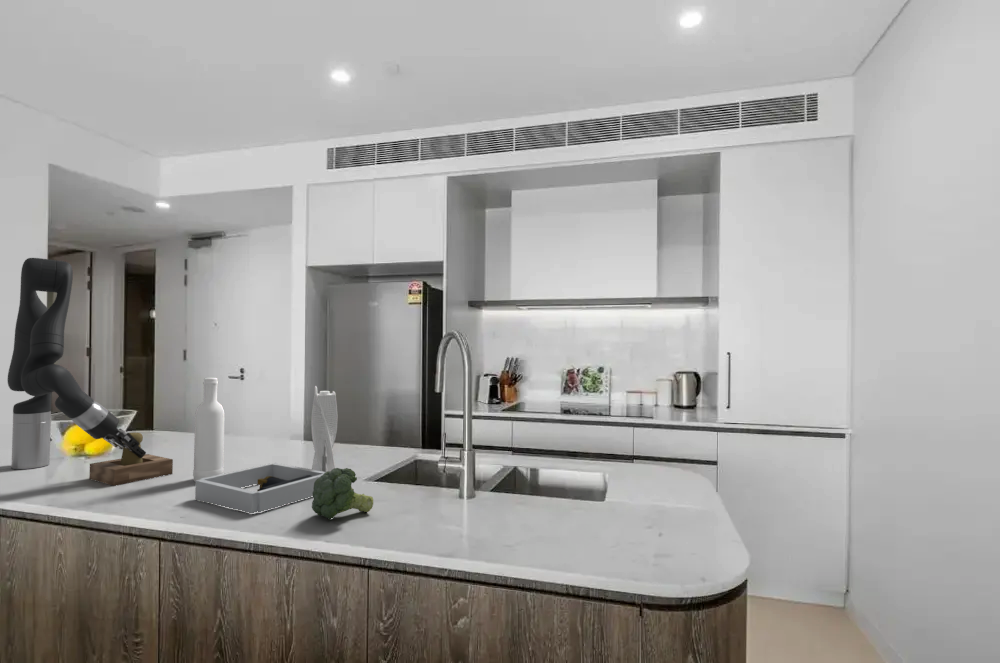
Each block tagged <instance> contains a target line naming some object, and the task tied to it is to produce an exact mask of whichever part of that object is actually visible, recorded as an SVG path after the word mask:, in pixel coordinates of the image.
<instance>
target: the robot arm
mask: <svg viewBox="0 0 1000 663" xmlns="http://www.w3.org/2000/svg"><path fill="white" fill-rule="evenodd" d="M20 271H21V272H20V294H19V295H20V296H19V306H18V311H17V312H18V313H17V316H16V322H15V328H14V338H13V340H14V341H13V342H14V343H13V351H12V356H11V360H10V364H9V368H8V373H7V385H8V387H9V389H10V390H11V391H14V392H25V393H26V394H27V395H29V396H32V397H31V398H29V399H27V400H24V401H21V402H16V403H15V404H13V406H12V438H11V439H12V440H11V463H10V464H11V466H10V467H11V469H13V470H27V469H29V470H30V469H37V468H41V467H42V468H43V467H46V466H49V465H50V461H51V460H50V459H51V458H50V457H51V454H50V452H51V430H52V429H51V426H52V425H51V423H52V419H51V418H52V394H53V392H54V393H56V394H57V395H58V396H57V398H56V399H55V402H54V405H55V408H56V409H57V410H58V411H60V412H61V413H62V414H64V415H65V416H66V417H67V418H69V419H70V420H71V421H72V422H73V423H74V424H75V425H76V426H77V427H78V428H80V429H81V430H83V431H84V432H85V433H87V435H89V436H90V437H92V438H93V439H95V440H101V439H103V440H104V441H106V442H107V443H108V444H110V445H112V446H113V447H114V448H117V449H119V450H122V451H123V447H125V448H126V449H128V450H129V451H131V452H132V453H134V454H135V455H137V456H138V457H139V458H142V457H143V456H144V455H145V454H147V452H146V450H144V449H143V448H142V447H141V448H140V447H139V445H140V444H141V443H140V444H139V442H138V441H137V440H136V439H135V438H134V437H133V436H132V435H131V434H130V433H131V432H127V433H126V431H125V430H123V428H118V425H119V422H120V420H119V418H118V417H117V416H115V415H114V413H112V412H111V411H110V410H108V409H107V408H106V407H104V406H103V405H102V404H101V403H99V402H98V401H96V400H94V398H92V397H91V396H90V395H88V394H87V393H86V392H84V390H83V389H82V388H81V387H80V384H79V382H77V380H76V379H75V378H74V376H73V375H72V373H71V371H69V370H68V368H66V367H64V366H62V365H59V364H55V363H56V362H58V361H59V360H60V359H61V358H62V357H63V356H64V351H65V350H64V349H65V346H64V345H65V327H66V321H67V316H68V311H69V307H70V301H71V300H70V299H71V294H72V287H73V276H74V275H73V273H74V272H73V271H74V270H73V267H72V264H70V262H68V261H63V260H57V259H51V258H50V259H48V258H40V257H28V258H26V259H25V260H24V262H23V264H22V267H21V270H20ZM37 292H47V293H56V295H55V296H56V297H55V299H54V301H53V303H52V304H51V305H50V307H49V308H48V307H47V306H46V304H44V302H43V301H42V300H41V298H40V297H39V296H38V293H37ZM123 443H124V444H123ZM132 444H133V445H132ZM131 445H132V446H131Z"/></svg>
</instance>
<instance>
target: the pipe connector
mask: <svg viewBox="0 0 1000 663" xmlns="http://www.w3.org/2000/svg"><path fill="white" fill-rule="evenodd" d="M309 477H313V476H311V475H306V476H302V477H299V478H295V479H292V480H284V479H279V478H277V477H273V476H267V477H265V478H264V479H263V478H261V479H258V485H257V486H259V488H258V489H256V492H257V491H261V490H265V489H268V488H272V487H276V486H280V485H283V484H287V483H291V482H294V481H298V480H302V479H306V478H309Z"/></svg>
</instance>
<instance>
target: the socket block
mask: <svg viewBox="0 0 1000 663" xmlns="http://www.w3.org/2000/svg"><path fill="white" fill-rule="evenodd" d="M173 459H174V458H168V457H165V456H164V457H163V456H159V455H153V454H149V453H146V454H145V455H144V456H143V457H142V460H143V463H138V464H132V465H127V466H122V465H120V463H121V458H115V459H109V460H104V461H99V462H98V461H97V462H90V463H89V475H88V476H89V480H91V479H92V480H91V481H94V480H96V481H95V482H98V481H99V482H98V483H102V482H103V483H102V484H105V483H106V485H109V486H114V487H116V485H117V486H121V485H126V484H131V483H135V482H140V481H145V479H146V480H150V478H151V479H155V478H154V477H156V478H160V477H159V476H161V477H164V476H163V475H165V476H169V475H168V474H170V475H173V472H174V471H173V467H174V466H173V465H174V461H173Z"/></svg>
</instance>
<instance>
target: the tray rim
mask: <svg viewBox="0 0 1000 663" xmlns="http://www.w3.org/2000/svg"><path fill="white" fill-rule="evenodd" d="M324 473H325V472H323V471H317V470H312V468H306V467H301V466H296V465H295V466H294V465H291V464H290V465H289V464H285V463H278V462H274V463H265V464H260V465H256V466H252V467H248V468H244V469H243V468H242V469H238V470H234V471H230V472H226V473H225V472H224V473H223V474H220V475H215V476H211V477H206V478H202V479H200V480H196V482H195V491H194V492H195V493H194V494H195V497H194V500H195V499H196V500H200V501H204V502H209V503H213V504H217V505H221V506H225V507H229V508H233V509H238V510H242V511H245V512H249V513H254V512H257V511H258V512H261V511H264V510H268V509H271V508H275V507H278V506H282V505H284V504H288V503H291V502H295V501H298V500H301V499H305V498H308V497H311V496H313V494H312V493H313V491H314V489H313V488H314V482H315V481H316V480H317V479H318V478H319V477H321V476H322V475H323V474H324ZM306 475H311V476H313V477H309V478H306V479H302V480H298V481H294V482H291V483H287V484H283V485H280V486H276V487H272V488H268V489H265V490H261V491H257V490H256V491H255V490H250V489H247V488H244V489H242V488H241V487H245V486H249V485H253V484H258V479H261V478H263V479H264V478H265V477H267V476H273V477H277V478H279V479H284V480H292V479H295V478H299V477H302V476H306ZM196 500H195V501H196ZM200 501H199V502H200ZM204 502H203V503H204Z"/></svg>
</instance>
